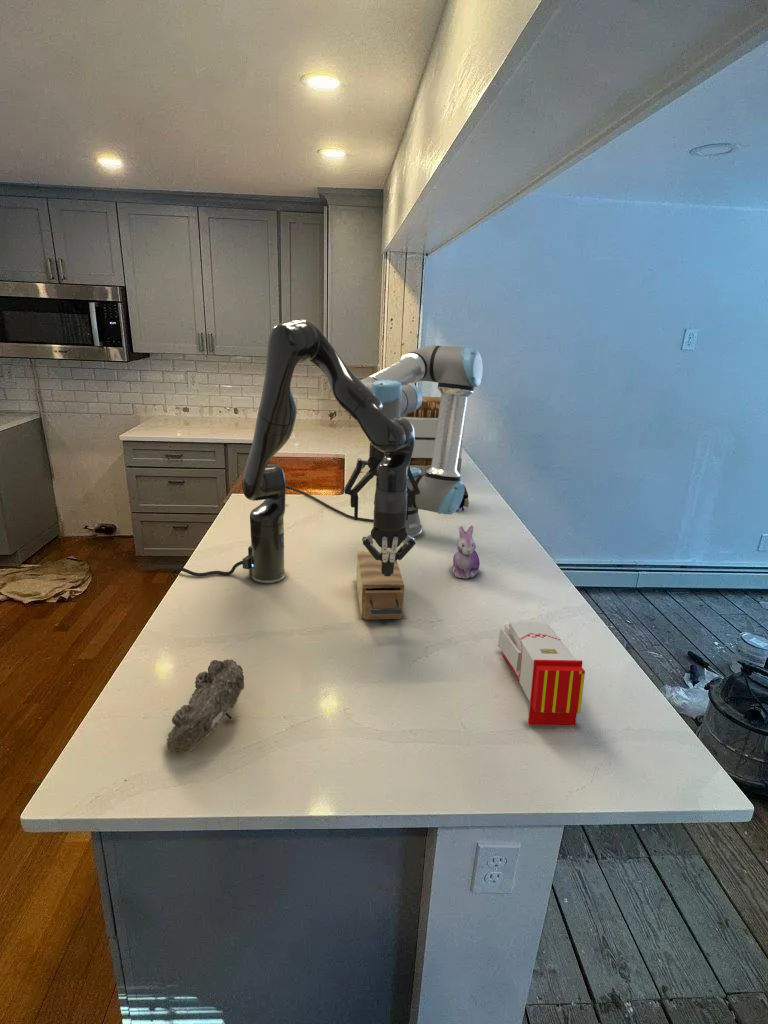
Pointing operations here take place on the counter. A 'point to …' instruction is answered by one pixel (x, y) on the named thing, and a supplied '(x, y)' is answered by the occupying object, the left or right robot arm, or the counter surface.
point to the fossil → (206, 705)
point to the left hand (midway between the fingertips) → (387, 574)
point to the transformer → (426, 432)
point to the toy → (544, 672)
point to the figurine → (466, 555)
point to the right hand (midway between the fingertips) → (380, 518)
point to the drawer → (383, 603)
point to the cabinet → (374, 577)
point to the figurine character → (464, 500)
